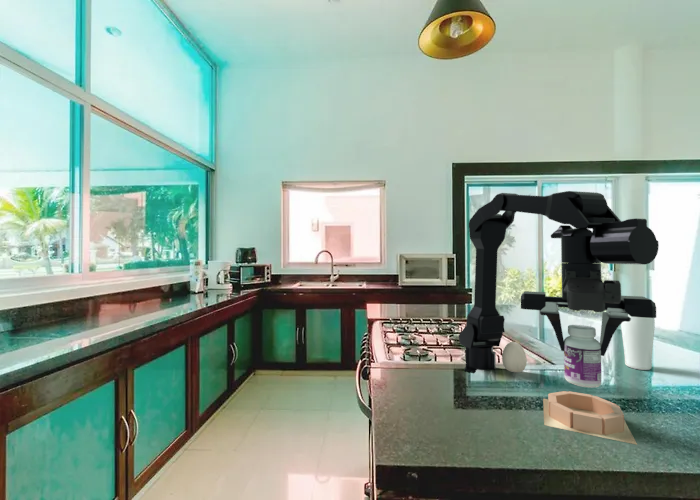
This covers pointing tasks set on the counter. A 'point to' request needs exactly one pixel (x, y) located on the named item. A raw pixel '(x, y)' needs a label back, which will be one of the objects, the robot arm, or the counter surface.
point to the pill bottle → (582, 357)
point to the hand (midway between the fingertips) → (581, 352)
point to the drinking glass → (638, 342)
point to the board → (551, 422)
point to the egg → (514, 357)
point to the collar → (603, 423)
